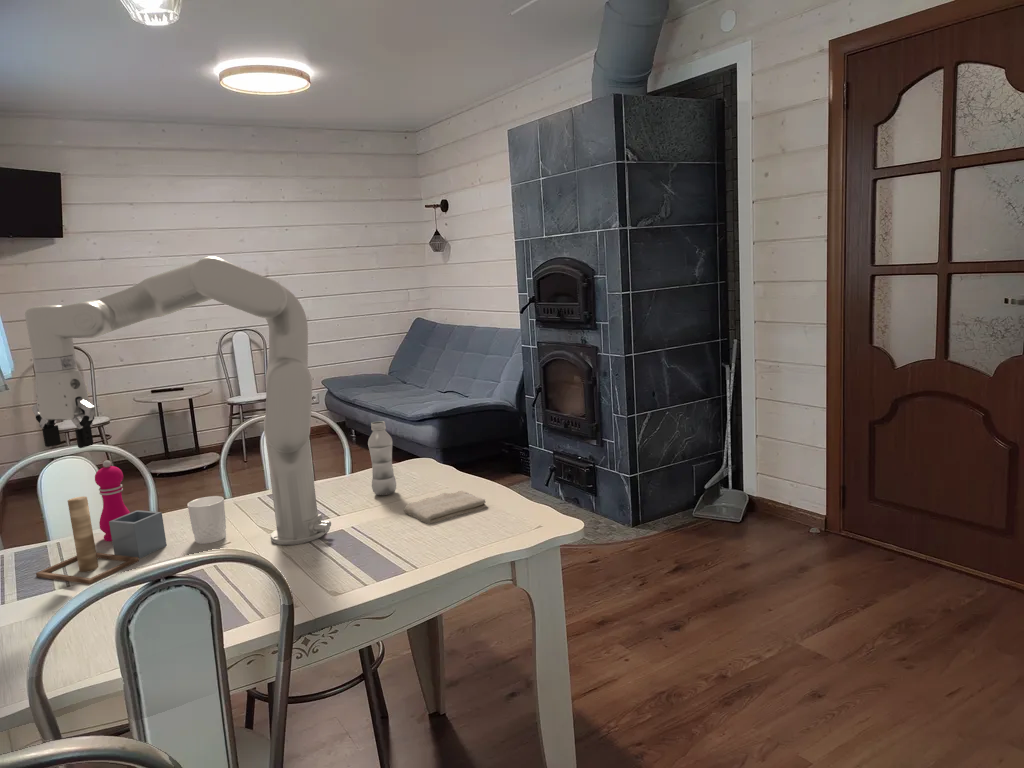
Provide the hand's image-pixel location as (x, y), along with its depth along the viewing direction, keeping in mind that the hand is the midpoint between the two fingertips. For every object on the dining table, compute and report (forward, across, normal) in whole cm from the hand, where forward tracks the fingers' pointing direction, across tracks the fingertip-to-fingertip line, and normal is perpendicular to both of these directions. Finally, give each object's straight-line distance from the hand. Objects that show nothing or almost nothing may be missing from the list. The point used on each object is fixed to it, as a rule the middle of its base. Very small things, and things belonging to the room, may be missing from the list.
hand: (69, 445), depth 155 cm
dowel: (+28, 0, 0) cm, 28 cm away
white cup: (+28, -14, -21) cm, 38 cm away
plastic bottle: (+29, -37, -60) cm, 76 cm away
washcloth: (+29, -60, -52) cm, 84 cm away
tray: (+28, 0, 0) cm, 28 cm away
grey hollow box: (+28, -3, -11) cm, 30 cm away
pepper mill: (+28, +11, -17) cm, 35 cm away
